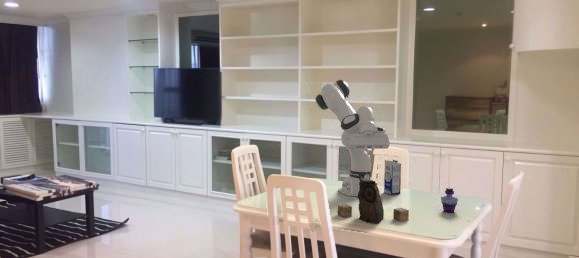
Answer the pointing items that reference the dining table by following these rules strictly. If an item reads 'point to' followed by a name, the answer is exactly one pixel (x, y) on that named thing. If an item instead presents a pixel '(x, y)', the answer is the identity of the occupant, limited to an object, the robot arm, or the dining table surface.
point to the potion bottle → (449, 201)
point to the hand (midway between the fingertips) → (370, 154)
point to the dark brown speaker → (370, 202)
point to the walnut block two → (401, 214)
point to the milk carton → (392, 177)
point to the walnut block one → (344, 210)
